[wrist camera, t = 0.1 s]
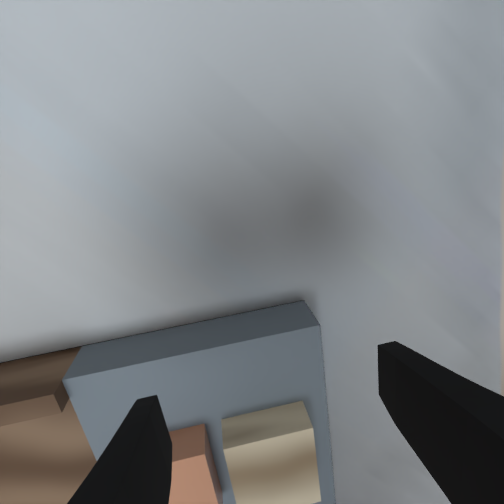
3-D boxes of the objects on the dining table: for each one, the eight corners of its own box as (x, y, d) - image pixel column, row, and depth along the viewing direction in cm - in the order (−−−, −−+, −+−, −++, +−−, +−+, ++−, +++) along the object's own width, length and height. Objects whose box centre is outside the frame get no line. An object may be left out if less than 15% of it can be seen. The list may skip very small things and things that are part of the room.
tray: (148, 518, 25) (139, 584, 21) (-29, 563, 24) (-72, 642, 20) (82, 346, 20) (53, 394, 16) (-151, 394, 18) (-242, 458, 15)
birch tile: (310, 470, 22) (321, 501, 20) (237, 488, 21) (240, 522, 19) (302, 400, 19) (313, 427, 18) (221, 419, 19) (223, 449, 17)
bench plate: (322, 473, 26) (336, 513, 23) (148, 518, 25) (141, 565, 22) (304, 300, 21) (320, 325, 18) (82, 346, 20) (61, 380, 17)
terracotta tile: (222, 492, 21) (224, 526, 19) (145, 512, 21) (139, 549, 19) (204, 423, 19) (204, 454, 17) (118, 443, 19) (108, 477, 17)
